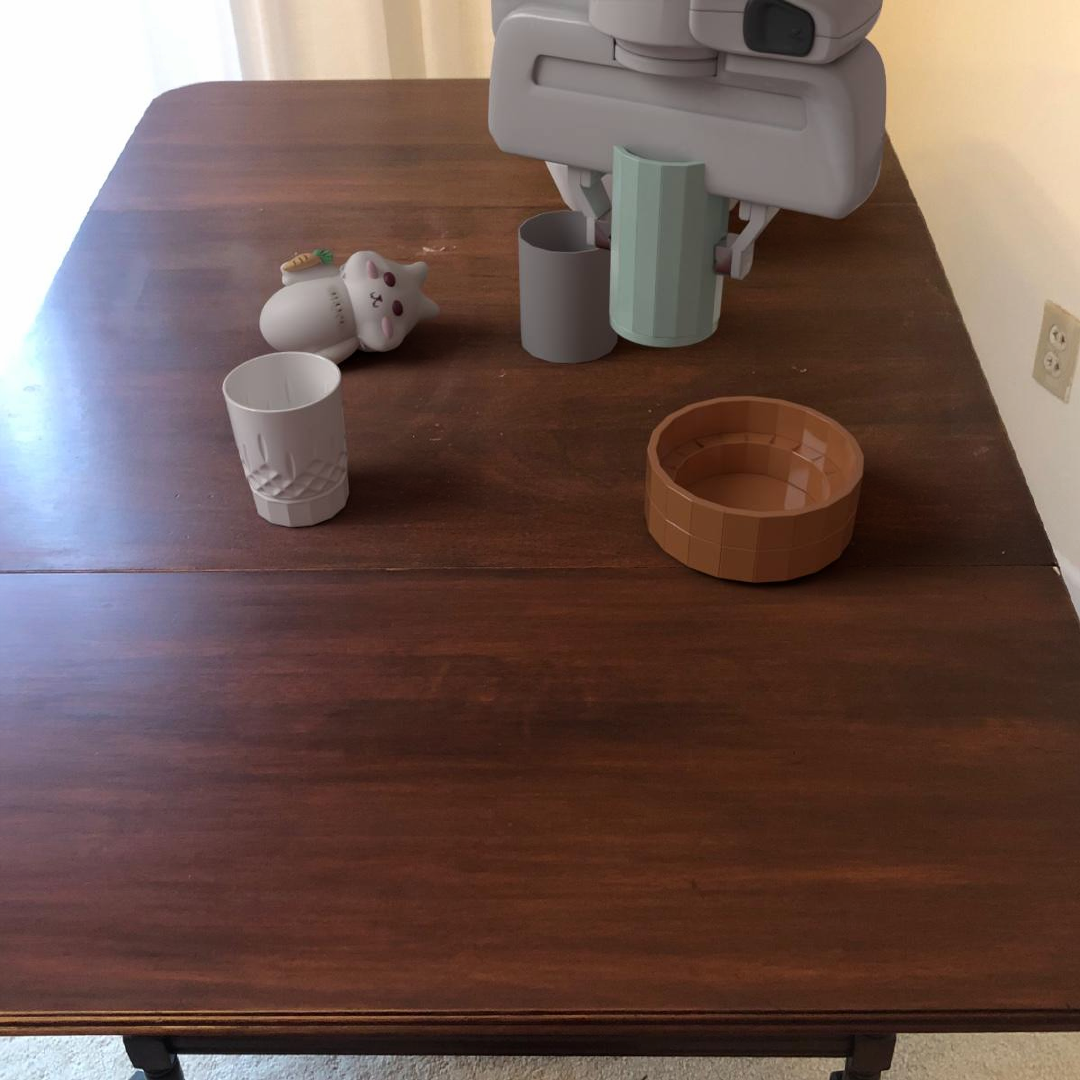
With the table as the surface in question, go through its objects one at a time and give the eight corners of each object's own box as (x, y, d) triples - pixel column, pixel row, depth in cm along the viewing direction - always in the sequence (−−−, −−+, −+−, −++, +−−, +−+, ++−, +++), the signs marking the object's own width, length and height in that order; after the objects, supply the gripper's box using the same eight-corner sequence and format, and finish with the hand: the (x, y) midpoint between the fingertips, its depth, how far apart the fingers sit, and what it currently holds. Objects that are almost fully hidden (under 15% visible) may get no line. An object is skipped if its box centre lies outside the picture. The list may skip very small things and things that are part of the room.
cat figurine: (239, 264, 97) (421, 220, 99) (246, 274, 105) (415, 233, 107) (272, 381, 99) (451, 335, 101) (277, 382, 107) (443, 340, 109)
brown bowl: (893, 529, 85) (908, 457, 81) (754, 619, 77) (763, 545, 74) (740, 443, 93) (747, 375, 89) (603, 517, 86) (604, 446, 82)
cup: (635, 347, 105) (639, 238, 99) (552, 373, 102) (551, 262, 96) (583, 308, 111) (584, 202, 105) (504, 331, 108) (500, 224, 101)
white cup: (227, 522, 86) (200, 401, 80) (278, 461, 92) (256, 344, 86) (329, 541, 84) (309, 419, 78) (374, 478, 90) (359, 359, 84)
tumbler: (741, 322, 67) (759, 143, 61) (664, 359, 64) (675, 175, 58) (663, 285, 71) (672, 112, 64) (586, 318, 68) (589, 140, 61)
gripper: (457, -28, 58) (471, 242, 67) (877, 29, 50) (831, 327, 59) (522, -57, 63) (528, 200, 71) (919, -9, 55) (871, 275, 63)
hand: (668, 259), depth 65 cm, fingers closed on tumbler, 6 cm apart
